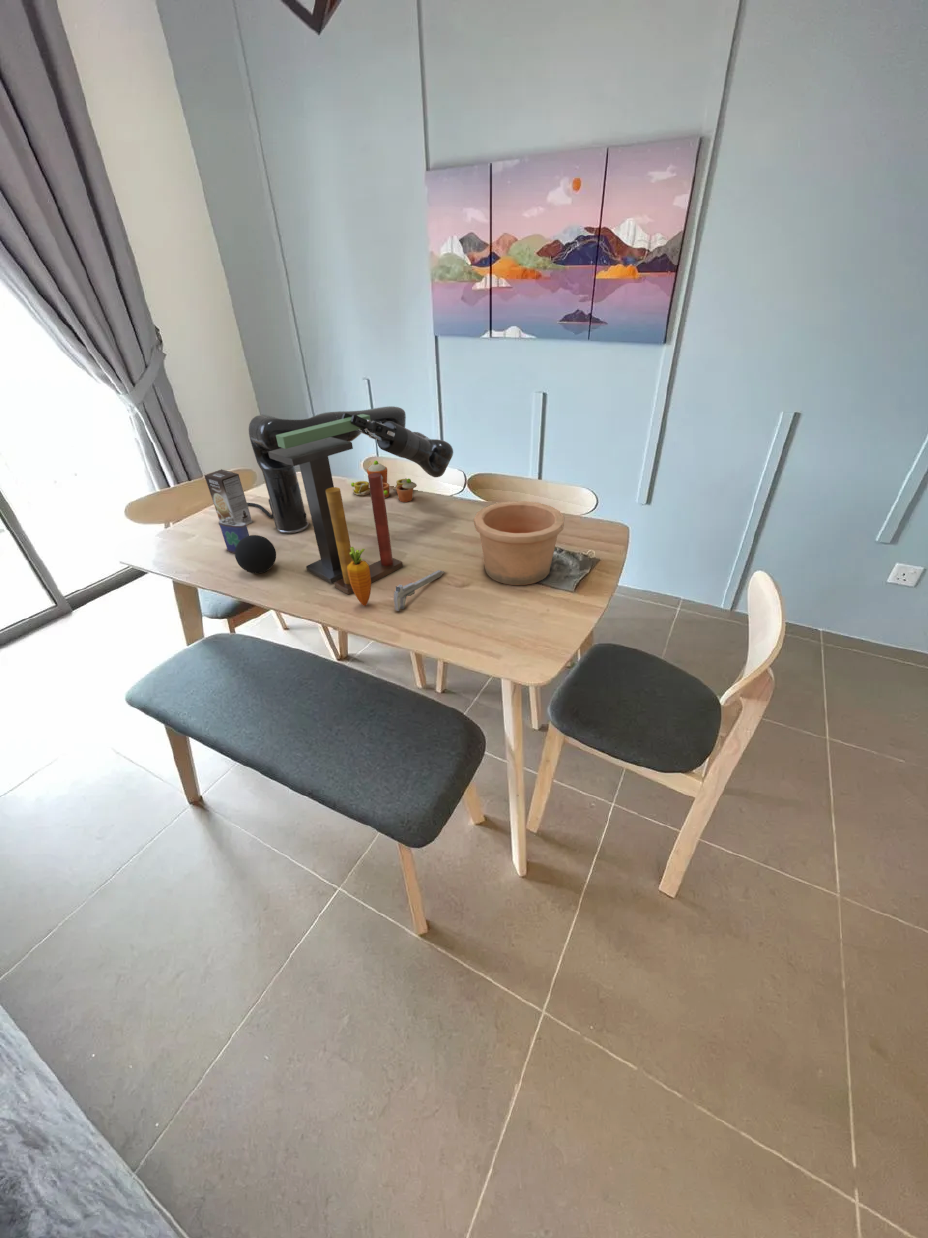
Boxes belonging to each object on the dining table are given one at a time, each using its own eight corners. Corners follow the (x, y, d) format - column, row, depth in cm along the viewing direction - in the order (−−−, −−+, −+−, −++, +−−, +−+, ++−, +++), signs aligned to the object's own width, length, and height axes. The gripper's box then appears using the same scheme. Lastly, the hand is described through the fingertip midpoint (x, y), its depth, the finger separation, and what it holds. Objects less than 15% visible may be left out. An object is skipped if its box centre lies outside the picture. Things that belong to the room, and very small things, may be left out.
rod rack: (389, 560, 134) (376, 469, 120) (403, 566, 131) (391, 473, 117) (335, 587, 123) (314, 490, 109) (348, 594, 120) (328, 496, 106)
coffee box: (219, 523, 159) (202, 474, 150) (236, 516, 164) (220, 468, 155) (237, 529, 155) (221, 479, 146) (253, 522, 160) (239, 473, 151)
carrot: (355, 600, 118) (344, 543, 109) (376, 599, 118) (366, 542, 110) (353, 612, 114) (341, 554, 105) (374, 610, 114) (364, 552, 105)
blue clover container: (256, 551, 142) (245, 516, 136) (249, 556, 139) (238, 520, 133) (231, 547, 145) (220, 513, 139) (224, 551, 142) (212, 517, 136)
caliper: (399, 613, 113) (395, 589, 109) (395, 612, 113) (392, 588, 110) (444, 573, 127) (443, 551, 124) (440, 572, 128) (439, 550, 124)
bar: (363, 424, 123) (362, 413, 122) (371, 425, 122) (370, 415, 120) (278, 446, 109) (275, 434, 107) (285, 448, 107) (282, 437, 106)
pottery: (503, 600, 115) (504, 544, 107) (460, 562, 132) (458, 511, 123) (577, 576, 123) (583, 523, 115) (528, 543, 140) (530, 494, 131)
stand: (348, 552, 139) (325, 435, 121) (372, 563, 133) (353, 442, 115) (298, 574, 129) (266, 451, 111) (323, 587, 123) (293, 459, 105)
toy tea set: (347, 495, 177) (342, 468, 171) (372, 481, 188) (368, 456, 182) (408, 505, 166) (405, 477, 161) (431, 490, 178) (429, 463, 172)
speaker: (236, 570, 133) (224, 536, 127) (272, 558, 138) (263, 525, 132) (248, 584, 126) (236, 549, 120) (285, 571, 131) (276, 537, 125)
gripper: (385, 423, 135) (334, 398, 121) (420, 430, 127) (370, 405, 113) (377, 450, 136) (326, 429, 122) (412, 459, 128) (362, 437, 114)
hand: (348, 417), depth 118 cm, fingers closed on bar, 3 cm apart
